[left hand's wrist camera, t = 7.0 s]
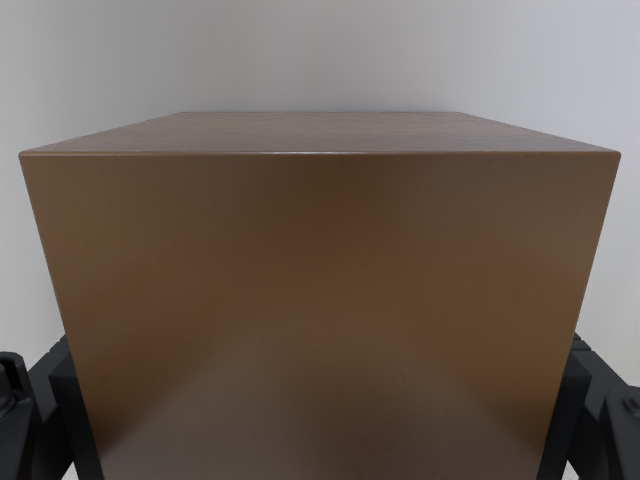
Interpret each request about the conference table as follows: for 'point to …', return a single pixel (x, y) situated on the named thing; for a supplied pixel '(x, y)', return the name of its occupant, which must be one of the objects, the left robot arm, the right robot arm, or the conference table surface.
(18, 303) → the conference table surface
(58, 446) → the left robot arm
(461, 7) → the conference table surface
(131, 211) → the beam
